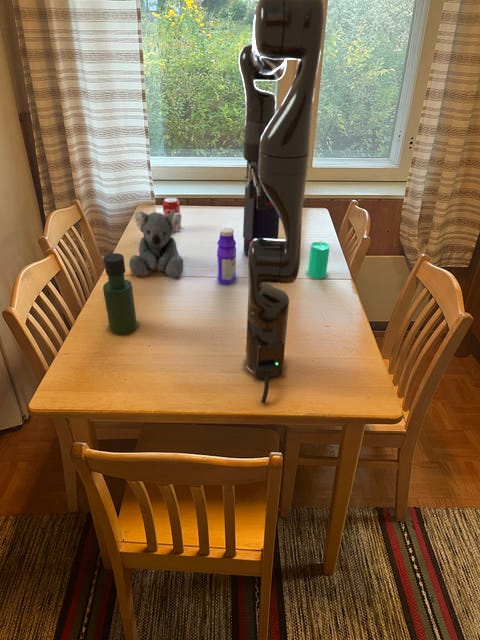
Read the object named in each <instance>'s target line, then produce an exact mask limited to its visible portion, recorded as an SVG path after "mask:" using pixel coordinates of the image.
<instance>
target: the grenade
mask: <svg viewBox="0 0 480 640" xmlns="http://www.w3.org/2000/svg"><path fill="white" fill-rule="evenodd" d="M246 180H247V178H246V175H245V176H244V179H243V183H244V184H246V185H245V186H244V202H243V203H244V204H243V225H242V238H243V252H244V254H245V256H248V252H249V247H250V244H251V242H252V241H253V240H254V239H256V238H265V239H279V229H280V217H279V215H278V213H277V211H276V209H275V207H274V206H273V204H272V202H271V201H270V199H269V197H268V196H267V195H266V209H265V210H258V209H257V198H254V199H250V198H249V184H248V181H246ZM259 183H260V182H259ZM262 191H264V189H262Z"/></svg>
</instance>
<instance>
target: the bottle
mask: <svg viewBox="0 0 480 640" xmlns="http://www.w3.org/2000/svg"><path fill="white" fill-rule="evenodd" d="M217 246H218V247H217V252H216V255H217V256H216V259H217V260H216V261H217V262H216V263H217V264H216V265H217V268H216V269H217V271H216V272H217V277H216V279H217V282H218V283H219V284H221V285H231V284H233V283H234V282H235V280H236V277H237V248H236V246H237V241H236V240H235V237H234V228H232V227H228V226H225V227H221V228H220V229H219V239H218V240H217Z"/></svg>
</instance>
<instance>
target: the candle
mask: <svg viewBox="0 0 480 640" xmlns="http://www.w3.org/2000/svg"><path fill="white" fill-rule="evenodd" d="M330 248H331V245H330V243H327V242H324V241H313V242H311V244H310V250H309V251H310V252H309V259H308V260H309V261H308V270H307V275H308V276H309V277H310V278H312V279H317V280H319V279H324V278H326V276H327V268H328V262H329V255H330Z"/></svg>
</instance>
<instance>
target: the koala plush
mask: <svg viewBox="0 0 480 640" xmlns="http://www.w3.org/2000/svg"><path fill="white" fill-rule="evenodd" d="M182 218H183V217H182V213H180V214H179V213H176V212H174V213H170V214H169V215H167V216H165V215H164V214H163V212H162V213H161V212H157V211H154V212H151V213H149V214H148V213H146V212H144V211H141V210H140V211H139V210H136V211H135V212H134V220H135V222H134V223H136V224H135V225H136V228H138V229H139V231H140V232H141V233H142V234H143V236H142V237H141V239H140V241H139V245H138V255H136V254H133V255H131V257H130V258H129V265H128V266H129V270H130V272H131V274H132V275H133V276H135V277H140V278H142V277H145V276H148V275H149V274H151V272H153V270H154V269H156V270H157V271H159V272H164V273H165V274H166V276H168V277H170V278H175V279H176V278H178V277H180V276H181V275H182V273H183V270H184V259H183V258H182V256H181V255H180V253H179V251H178V248H177V242H176V240H175V239H174V237H173V236H172V234H173V233H176V232H177V231H176V230H177V228H178V227H179V226H180V223H181V224H182ZM175 231H176V232H175Z"/></svg>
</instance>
